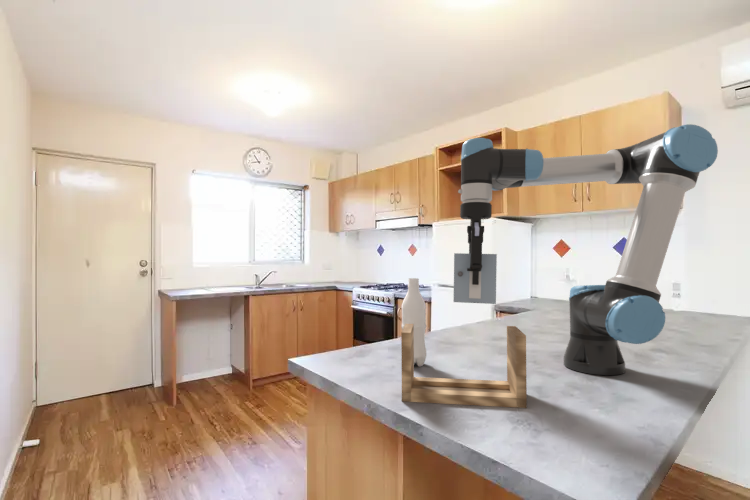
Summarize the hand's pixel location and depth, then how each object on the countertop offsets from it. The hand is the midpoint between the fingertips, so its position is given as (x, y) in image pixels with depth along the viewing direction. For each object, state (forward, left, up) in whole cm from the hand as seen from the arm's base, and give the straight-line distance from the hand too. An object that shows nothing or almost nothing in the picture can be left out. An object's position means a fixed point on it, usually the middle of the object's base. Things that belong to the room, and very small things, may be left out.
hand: (474, 297), depth 97 cm
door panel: (0, 0, -1) cm, 1 cm away
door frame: (+4, +9, -21) cm, 23 cm away
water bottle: (+16, -15, -22) cm, 31 cm away
